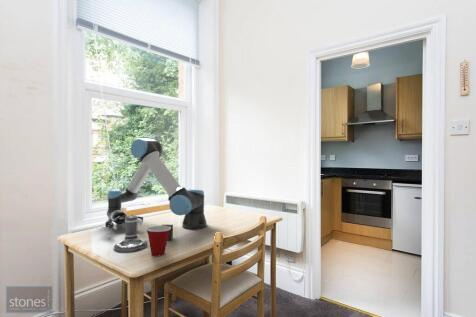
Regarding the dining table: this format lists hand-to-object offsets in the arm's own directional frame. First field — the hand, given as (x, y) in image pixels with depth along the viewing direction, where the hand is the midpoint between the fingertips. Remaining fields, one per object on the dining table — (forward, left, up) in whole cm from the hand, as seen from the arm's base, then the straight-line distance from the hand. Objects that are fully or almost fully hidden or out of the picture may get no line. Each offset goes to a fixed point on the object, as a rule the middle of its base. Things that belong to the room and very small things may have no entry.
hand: (129, 224), depth 141 cm
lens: (-2, +1, -7) cm, 7 cm away
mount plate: (-8, +15, -6) cm, 18 cm away
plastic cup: (-24, +23, -7) cm, 34 cm away
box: (-22, +4, -7) cm, 23 cm away
